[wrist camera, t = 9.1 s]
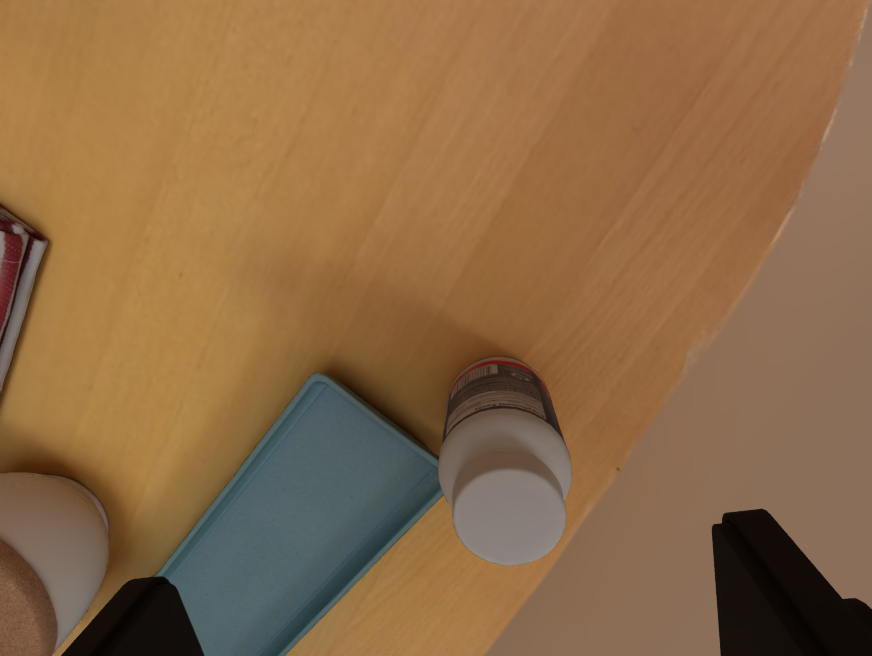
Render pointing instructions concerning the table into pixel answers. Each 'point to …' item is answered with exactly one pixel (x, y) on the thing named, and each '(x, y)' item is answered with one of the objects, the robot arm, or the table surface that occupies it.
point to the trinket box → (47, 560)
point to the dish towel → (15, 280)
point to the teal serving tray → (301, 522)
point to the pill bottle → (504, 462)
